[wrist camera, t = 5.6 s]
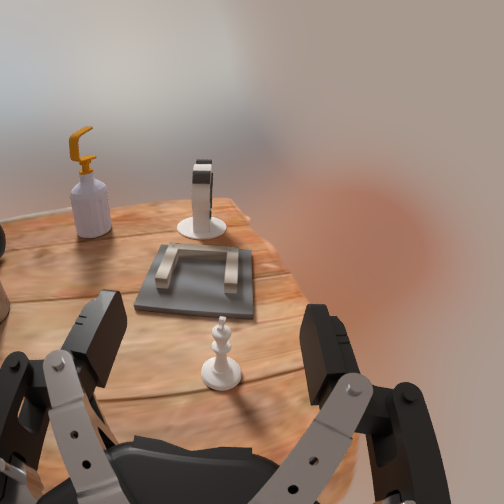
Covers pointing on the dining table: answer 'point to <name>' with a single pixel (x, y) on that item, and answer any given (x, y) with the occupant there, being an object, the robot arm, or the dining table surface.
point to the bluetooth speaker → (2, 241)
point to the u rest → (199, 281)
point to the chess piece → (221, 361)
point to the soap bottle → (88, 195)
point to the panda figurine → (202, 206)
